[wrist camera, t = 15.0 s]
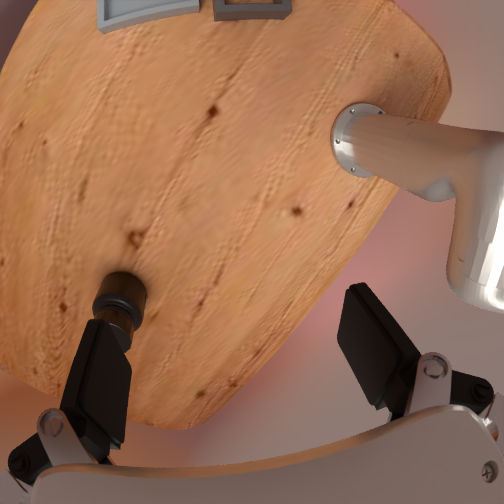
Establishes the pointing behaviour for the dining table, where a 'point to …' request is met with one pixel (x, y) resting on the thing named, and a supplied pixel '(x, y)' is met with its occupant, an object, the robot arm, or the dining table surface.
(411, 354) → the robot arm
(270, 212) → the dining table surface
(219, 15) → the holder
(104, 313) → the ink bottle
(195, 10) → the tray
